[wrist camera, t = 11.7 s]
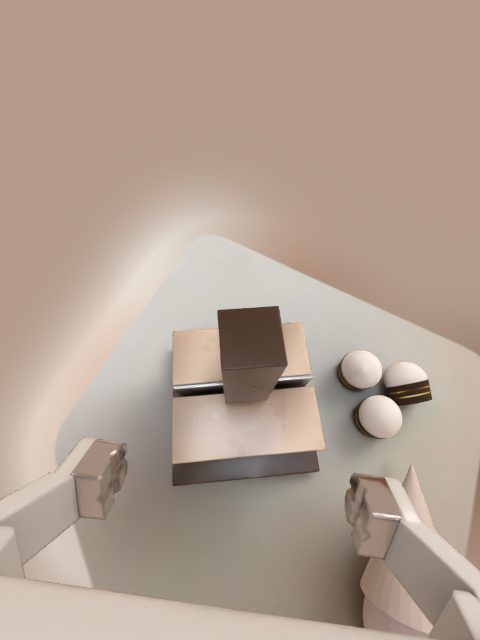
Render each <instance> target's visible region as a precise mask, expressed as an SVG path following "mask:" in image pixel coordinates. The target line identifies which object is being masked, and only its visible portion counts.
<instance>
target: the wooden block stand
mask: <svg viewBox="0 0 480 640" xmlns="http://www.w3.org/2000/svg"><path fill="white" fill-rule="evenodd" d="M282 330H283V336H284V342H285V349H286V355H287V361H288V366H287V367H286V369H285V371H284V372H283V374H282V376H281V377H280V378H282V377H295V376H307V375H311V369H310V364H309V358H308V353H307V348H306V342H305V337H304V332H303V326H302V323H301V322H300V323H286V324H282ZM220 382H223V381H222V373H221V360H220V344H219V328H214V329H199V330H185V331H173V362H172V385H173V398H172V464H173V472H172V485H173V486H178V485H188V484H198V483H208V482H218V481H228V480H238V479H248V478H258V477H268V476H278V475H288V474H298V473H308V472H318V471H319V464H318V459H317V453H316V450H325V449H326V448H325V443H324V437H323V432H322V427H321V422H320V416H319V411H318V406H317V400H316V395H315V390H314V386H309V387H305V386H304V387H297V388H285V389H273V390H272V392H271V394H270V395H269V397H268V399H267V400H266V401H257V402H245V403H234V404H225V398H224V394H212V395H200V396H188V397H180V396H179V395H178V394H177V392H176V391H175V390H174V386H182V385H195V384H207V383H220Z"/></svg>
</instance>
